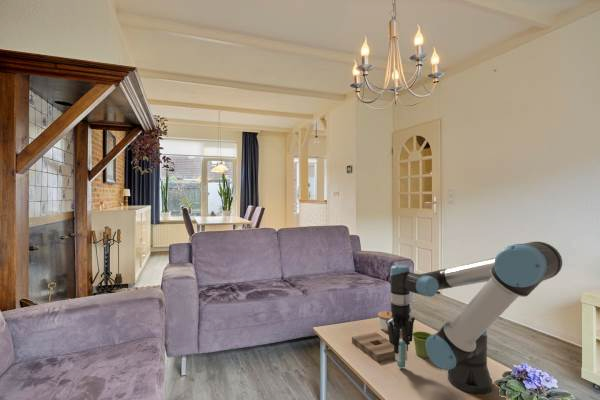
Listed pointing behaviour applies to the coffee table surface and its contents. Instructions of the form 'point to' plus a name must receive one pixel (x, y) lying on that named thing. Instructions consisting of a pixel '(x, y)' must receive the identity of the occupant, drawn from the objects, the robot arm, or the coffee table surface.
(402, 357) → the peg
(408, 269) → the robot arm
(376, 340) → the hole block
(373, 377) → the coffee table surface
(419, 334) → the plant pot
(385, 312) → the lidded jar
